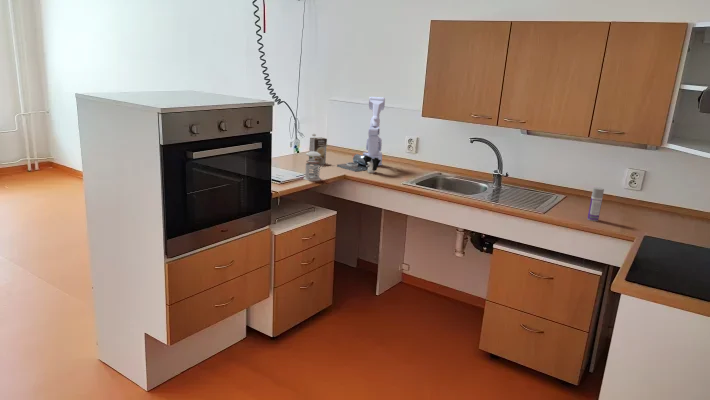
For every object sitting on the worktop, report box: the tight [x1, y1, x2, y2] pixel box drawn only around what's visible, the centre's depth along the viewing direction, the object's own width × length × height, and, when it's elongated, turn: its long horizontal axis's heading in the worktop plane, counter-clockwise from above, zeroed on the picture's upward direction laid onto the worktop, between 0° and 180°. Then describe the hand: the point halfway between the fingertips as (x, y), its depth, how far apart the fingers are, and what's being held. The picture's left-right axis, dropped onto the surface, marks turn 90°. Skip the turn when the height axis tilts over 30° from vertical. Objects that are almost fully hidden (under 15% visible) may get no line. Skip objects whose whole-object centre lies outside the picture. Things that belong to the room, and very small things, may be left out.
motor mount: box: [336, 153, 373, 172], centre depth 326 cm, size 18×17×7 cm
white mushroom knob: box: [366, 162, 376, 174], centre depth 315 cm, size 7×6×6 cm
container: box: [587, 186, 605, 222], centre depth 241 cm, size 5×5×15 cm
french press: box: [303, 133, 324, 182], centre depth 286 cm, size 10×12×25 cm
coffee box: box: [308, 137, 328, 165], centre depth 331 cm, size 9×6×16 cm
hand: (371, 169), depth 316 cm, fingers closed on white mushroom knob, 5 cm apart
